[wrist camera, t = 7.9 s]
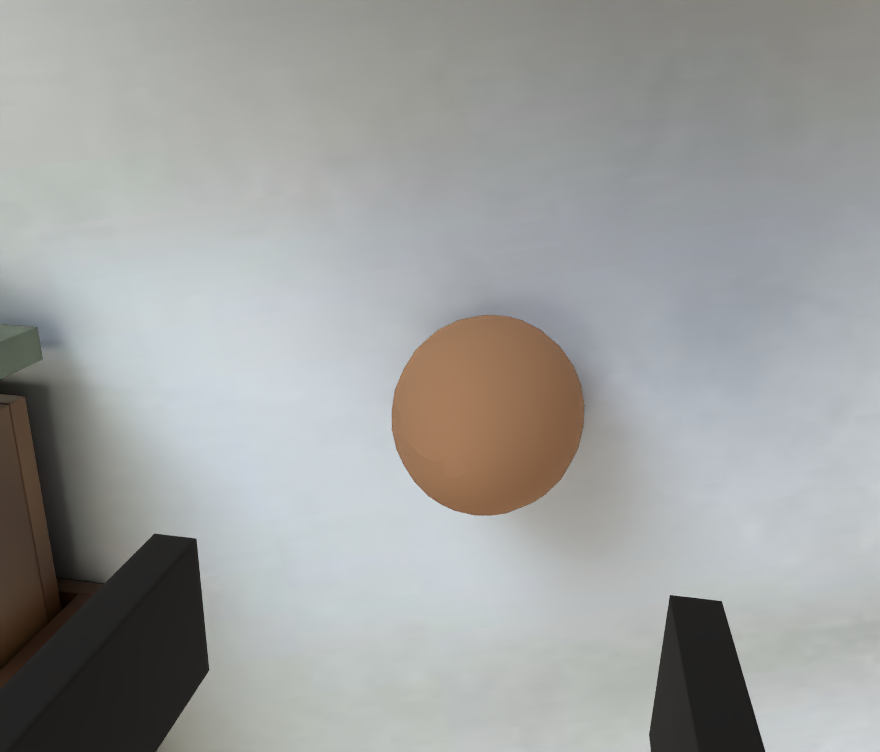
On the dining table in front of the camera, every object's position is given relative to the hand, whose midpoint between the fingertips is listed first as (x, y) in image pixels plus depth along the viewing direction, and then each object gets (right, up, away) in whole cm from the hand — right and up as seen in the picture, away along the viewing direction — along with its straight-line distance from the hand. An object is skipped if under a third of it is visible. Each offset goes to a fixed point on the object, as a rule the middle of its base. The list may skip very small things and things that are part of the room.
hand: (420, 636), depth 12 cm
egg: (+2, +4, +12) cm, 13 cm away
